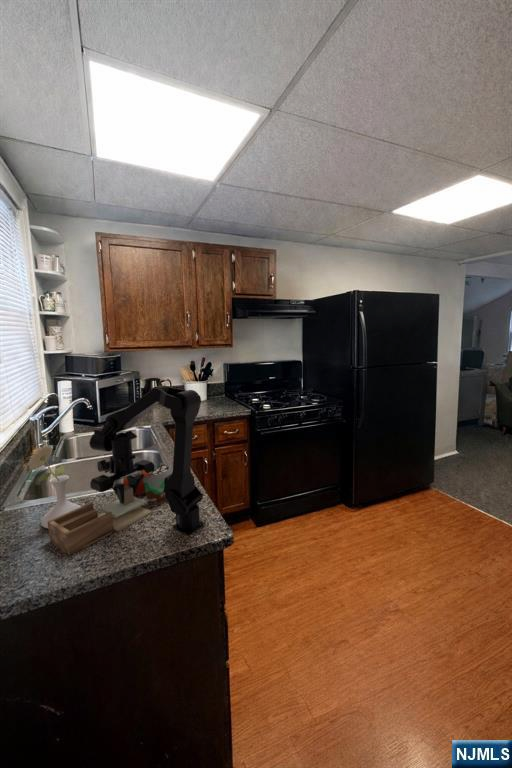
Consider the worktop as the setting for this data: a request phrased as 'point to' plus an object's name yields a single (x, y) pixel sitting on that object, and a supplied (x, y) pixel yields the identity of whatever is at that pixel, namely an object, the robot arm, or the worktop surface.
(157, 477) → the food container
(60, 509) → the flower in vase
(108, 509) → the lid
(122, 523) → the mat
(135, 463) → the robot arm
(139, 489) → the fruit
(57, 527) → the box
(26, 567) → the worktop surface
